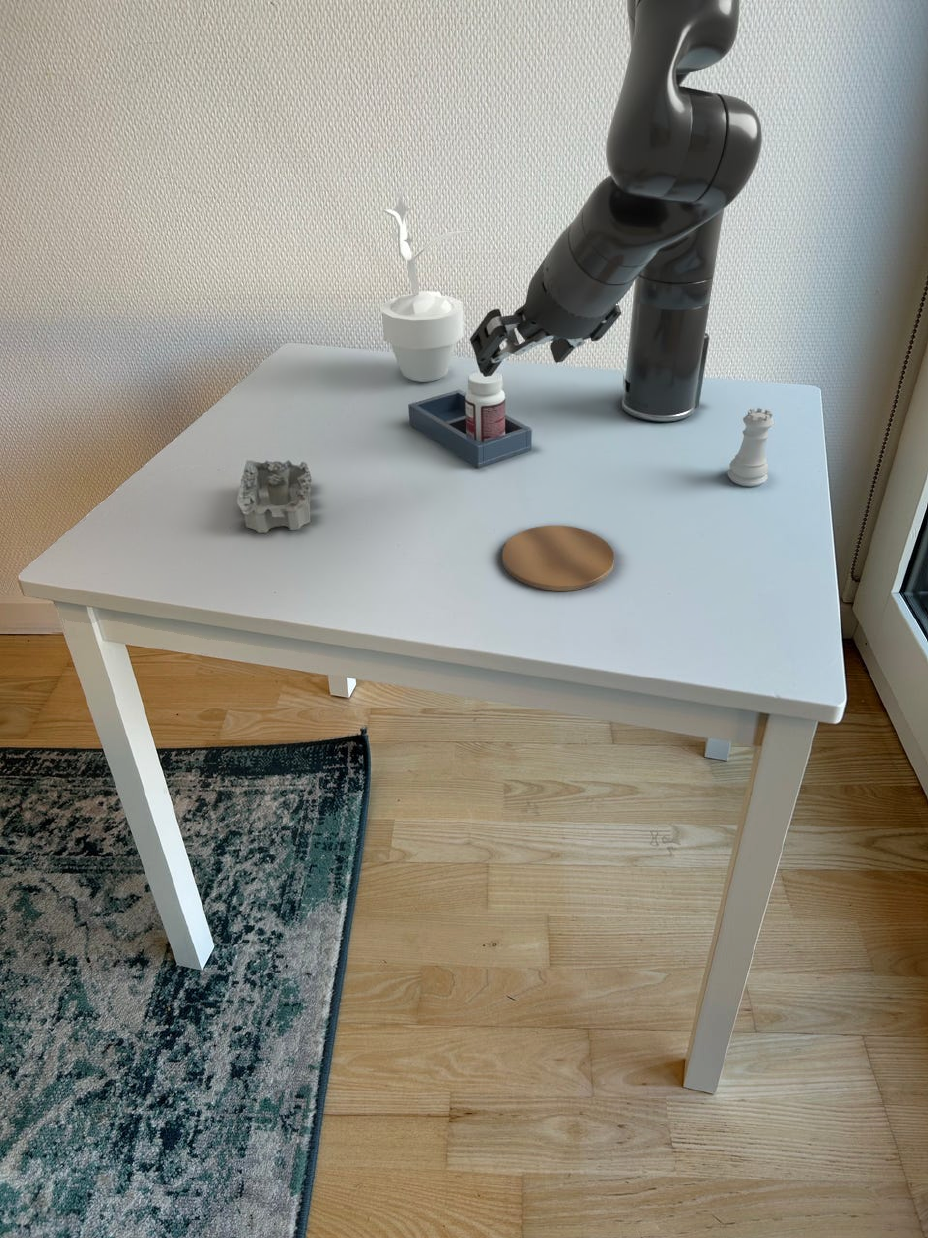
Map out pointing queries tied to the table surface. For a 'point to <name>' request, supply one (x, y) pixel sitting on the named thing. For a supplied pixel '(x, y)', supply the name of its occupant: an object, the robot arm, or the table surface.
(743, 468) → the rook chess piece
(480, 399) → the pill bottle
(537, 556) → the disc
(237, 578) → the table surface
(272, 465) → the egg carton
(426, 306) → the potted plant
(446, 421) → the holder
